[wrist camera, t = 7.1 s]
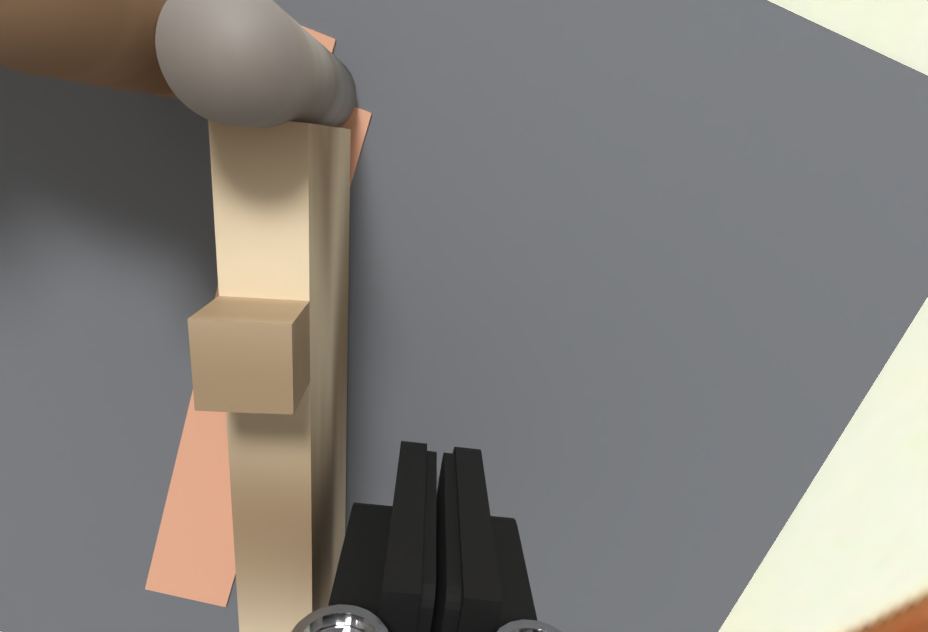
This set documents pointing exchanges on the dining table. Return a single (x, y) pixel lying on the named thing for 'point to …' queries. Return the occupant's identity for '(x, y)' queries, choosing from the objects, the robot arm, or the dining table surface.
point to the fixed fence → (85, 42)
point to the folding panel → (273, 289)
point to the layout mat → (477, 300)
